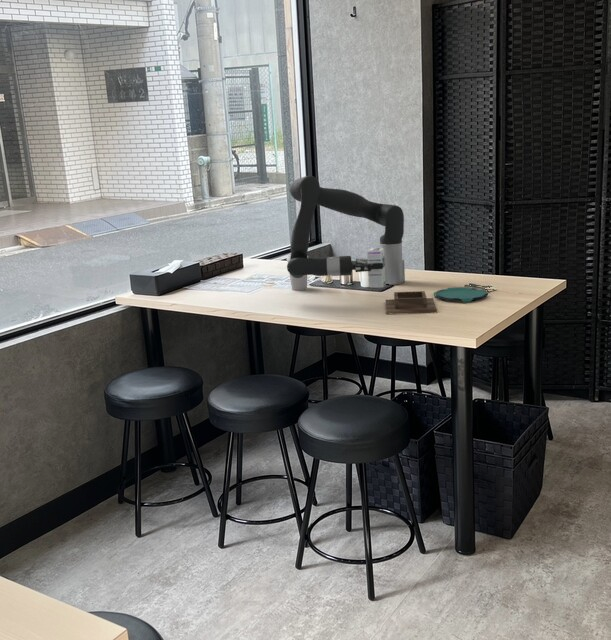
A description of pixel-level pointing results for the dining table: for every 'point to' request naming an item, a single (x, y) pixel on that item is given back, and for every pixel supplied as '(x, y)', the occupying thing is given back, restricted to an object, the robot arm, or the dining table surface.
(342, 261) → the robot arm
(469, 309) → the dining table surface
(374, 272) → the syrup box
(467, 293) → the green flat pad
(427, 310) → the socket stand
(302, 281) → the coffee cup
